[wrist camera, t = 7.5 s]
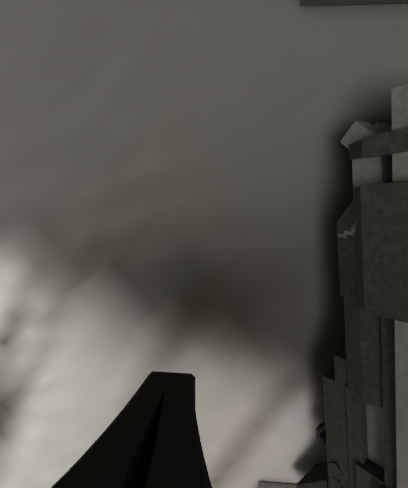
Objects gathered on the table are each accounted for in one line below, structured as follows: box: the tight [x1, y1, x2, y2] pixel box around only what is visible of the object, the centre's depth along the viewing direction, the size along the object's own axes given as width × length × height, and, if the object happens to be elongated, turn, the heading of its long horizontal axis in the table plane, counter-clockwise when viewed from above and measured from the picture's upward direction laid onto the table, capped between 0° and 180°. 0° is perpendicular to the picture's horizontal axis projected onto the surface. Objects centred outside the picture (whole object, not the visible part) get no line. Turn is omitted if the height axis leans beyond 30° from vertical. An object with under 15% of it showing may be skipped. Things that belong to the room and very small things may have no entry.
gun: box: [296, 84, 408, 488], centre depth 13 cm, size 4×20×10 cm
